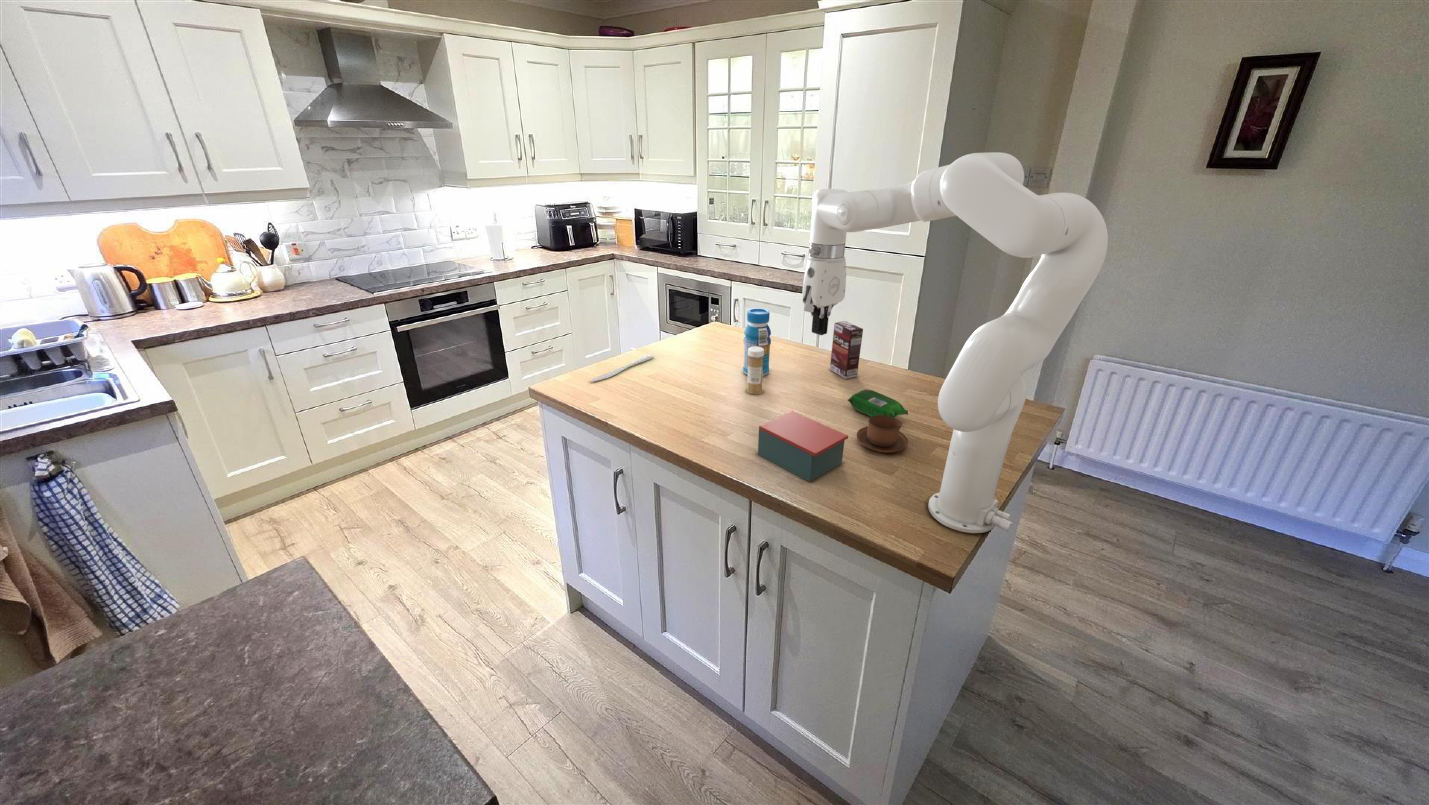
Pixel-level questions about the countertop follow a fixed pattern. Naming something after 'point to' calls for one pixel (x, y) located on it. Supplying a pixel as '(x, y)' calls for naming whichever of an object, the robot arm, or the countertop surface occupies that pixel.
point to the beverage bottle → (757, 336)
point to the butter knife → (621, 369)
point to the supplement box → (846, 349)
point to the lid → (803, 433)
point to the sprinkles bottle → (755, 369)
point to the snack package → (876, 404)
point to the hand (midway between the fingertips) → (819, 333)
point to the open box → (798, 457)
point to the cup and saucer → (882, 434)
